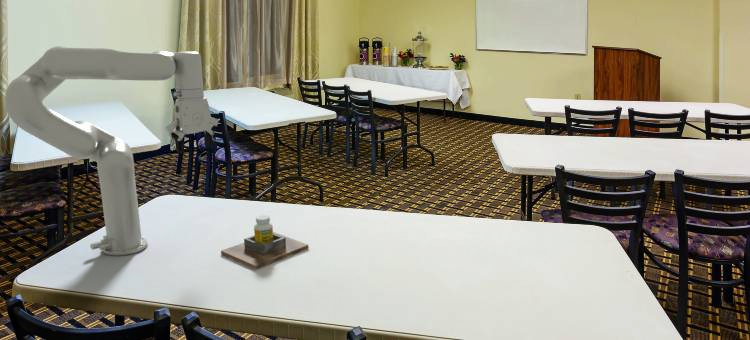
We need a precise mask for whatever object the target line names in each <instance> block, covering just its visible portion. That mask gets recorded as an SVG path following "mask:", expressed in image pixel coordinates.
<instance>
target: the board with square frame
mask: <svg viewBox="0 0 750 340" xmlns="http://www.w3.org/2000/svg"><path fill="white" fill-rule="evenodd" d="M243 240H244V241H243V242H242V243H239V244H236V245H234V246H230V247H228V248H225V249H222V250H221V251H220V254H221V255H222V256H223V257H226V258H229V259H231V260H233V261H235V262H238V263H240V264H241V265H244V266H245V267H249V268H251V269H253V270H259V269H260V268H264V267H265V266H268V265H270V264H273V263H276V262H278V261H281V260H283V259H287V258H288V257H291V256H293V255H296V254H298V253H301V252H303V251H305V250H308V249H309V248H310V247H309V244H308V243H305V242H302V241H299V240H296V239H294V238H290V237H289V236H286V235H283V234H280V233H277V232H274V231H273V241H272V242H269V243H266V244H264V245H263V244H260V243H258V242H255V234H254V235H251V236H249V237H245V238H244V239H243Z"/></svg>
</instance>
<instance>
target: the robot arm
mask: <svg viewBox="0 0 750 340" xmlns="http://www.w3.org/2000/svg"><path fill="white" fill-rule="evenodd" d="M202 66H203V65H202V56H201V54H200V53H199V52H198V51H187V50H186V51H178V52H174V51H163V50H162V51H161V50H159V51H158V50H157V51H154V52H151V53H150V52H149V53H148V52H145V53H144V52H143V53H142V52H128V51H127V52H125V51H120V50H115V49H111V48H105V47H104V48H96V47H93V48H87V47H85V48H82V47H67V46H61V45H57V46H54V47H51V48H49V49H47V50H46V51H45V52H44V53H43V56H41V57H40V58H39V59H37V61H35V63H33V64H32V65H31V66H30V67H28V68H27V69H26V70H25V71H24V72H23V73H22V74H20V75H19V76H18V77H16V78H15V79H13V80H12V81H10V83H9V84H8V85H7V87H6V90H5V95H4V102H5V103H4V104H5V109H6V112H7V114H8V116H9V118H10V119H11V121H12V122H13V123H14V124H15V125H16V126H17V127H19V129H21V130H23V131H24V132H26V133H28V134H30V135H31V136H33V137H35V138H37V139H39V140H41V141H43V142H44V143H46V144H48V145H50V146H51V147H54V148H56V149H58V150H59V151H61V152H63V153H65V154H66V155H68V156H70V157H72V158H75V159H81V160H83V159H87V158H88V159H90V160H91V161H94V162H96V163H97V164H96V166H97V167H96V168H97V169H96V170H97V174H98V180H99V188H100V194H101V202H102V208H103V210H102V211H103V217H104V224H105V225H104V226H105V235H103V237H102V239H101V240H100V241H96V242H92V243H90V245H89V247H90V249H91V250H92V251H94V250H97V249H99V251H102V252H103V253H104V254H105V255H109V256H117V257H118V256H127V255H132V254H133V255H134V254H136V253H139V252H141V251H143V250H144V249H145V248H147V247H148V240H147V239H146V238H144V237H142V231H141V222H140V221H141V220H140V212H139V202H138V201H139V200H138V193H137V185H136V175H135V161H134V154H133V151H132V149H131V147H130V145H129V144H128V143H126V142H125V141H124V140H123V139H120V138H118V137H117V136H115V135H113V134H111V133H109V132H108V131H106V130H104V129H102V128H100V127H99V126H96V125H95V124H94V123H90V122H88V121H85V120H76V121H73V120H71V119H69V118H67V117H65V116H63V115H61V114H59V112H56V111H54V110H52V109H50V108H48V107H46V106H45V105H44V104H43V101H44V100H45V99H46V98H47V97H48V96H49V95H50V94H51V93H52V92H53V91H55V90H56V89H57V88H58V87H59V86H60V85H62V84H63V83H64V82H65V81H66V80H107V81H110V80H111V81H153V82H154V81H155V82H156V81H166V80H168V79H170V78H172V77H173V76H175V81H176V82H175V83H176V84H175V85H176V91H174V92H173V97H176V98H177V99H176V100H175V104H174V120H173V121H172V122H171V123H170V124H168V125H167V126H166V127H165V130H166V132H167V134H168V135H169V136H170V137H171V138H172V139H173V140H174V143H175V150H176V153H178V154H180V155H183V154H185V142H184V140H183V138H184V137H185V135H189V134H190V135H191V134H196V133H197V134H198V133H202V132H204V133H205V134H204V135H203V140H204V141H203V142H204V147H205V148H208V149H213V135H215V131H216V130H217V128H218V124H219V119H218V118H215V117H212V116H211V115H212V114H211V109H210V106H209V105H210V104H209V102H208V99H207V97H205V95H204V94H205V93H204V80H203V78H204V77H203V67H202ZM174 129H175V130H174ZM175 131H176V132H175Z"/></svg>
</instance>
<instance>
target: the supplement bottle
mask: <svg viewBox="0 0 750 340" xmlns="http://www.w3.org/2000/svg"><path fill="white" fill-rule="evenodd" d="M253 230H254V231H253V232H254V235H255V242H258V243H260V244H263V245H264V244H266V243H269V242H272V241H273V232H274V231H273V230H274V229H273V223H272V222H271V218H270V216H269V215H267V214H266V215H265V214H261V215H257V216H256V217H255V224H254V227H253Z"/></svg>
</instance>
